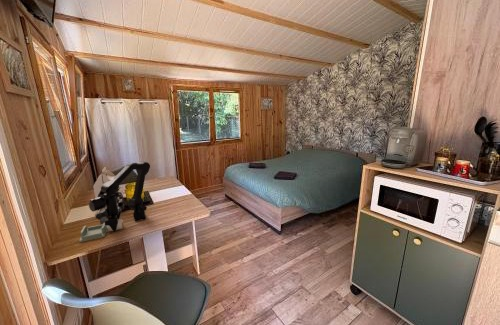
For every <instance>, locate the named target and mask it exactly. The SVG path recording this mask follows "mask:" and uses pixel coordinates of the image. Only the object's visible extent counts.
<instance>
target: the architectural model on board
mask: <svg viewBox="0 0 500 325" xmlns="http://www.w3.org/2000/svg"><path fill="white" fill-rule="evenodd" d="M105 208H106V206H105V207H104V208H102V209H99V210H98V212H99V211H101V210H103V209H105ZM106 218H107V217H106V216H105V217H103V218H101V219H100V220H99V223H100V224H103V223H104V222H105V220H106Z"/></svg>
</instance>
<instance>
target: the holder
mask: <svg viewBox="0 0 500 325" xmlns="http://www.w3.org/2000/svg"><path fill="white" fill-rule="evenodd" d="M108 231H109V230H108V226H107V225H105V223H104V222H102V223H101V224H97V225H92V226H88V227H87V225H84V226H83V227H82V229H81V231H80V238H79V241H78V242H79V243H82V242H87V241H91V240H97V239H100V238H101V239H102V238H105V237H106V236H107V232H108Z"/></svg>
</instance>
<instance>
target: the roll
mask: <svg viewBox="0 0 500 325" xmlns="http://www.w3.org/2000/svg"><path fill="white" fill-rule="evenodd" d="M122 229H124V221H123V219H122V218H119V219H118V225H117V229H116V231H118V230H122ZM107 231H108V232H113V230H112V229H111V227H110V226H108V230H107Z"/></svg>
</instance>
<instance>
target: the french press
mask: <svg viewBox="0 0 500 325" xmlns="http://www.w3.org/2000/svg"><path fill="white" fill-rule="evenodd" d="M121 188H122V187H121V186H120V185H119V188H118V190H117V191H116V193H118V194H120V195H119V196H116V200H117V204H118V207H121V211H123V210H124V209H125V208H124V207H125V205H124V198H123V192H121V191H120V189H121ZM118 191H119V192H118ZM118 197H119V199H118ZM120 197H121V198H120ZM123 208H124V209H123ZM122 209H123V210H122Z"/></svg>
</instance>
